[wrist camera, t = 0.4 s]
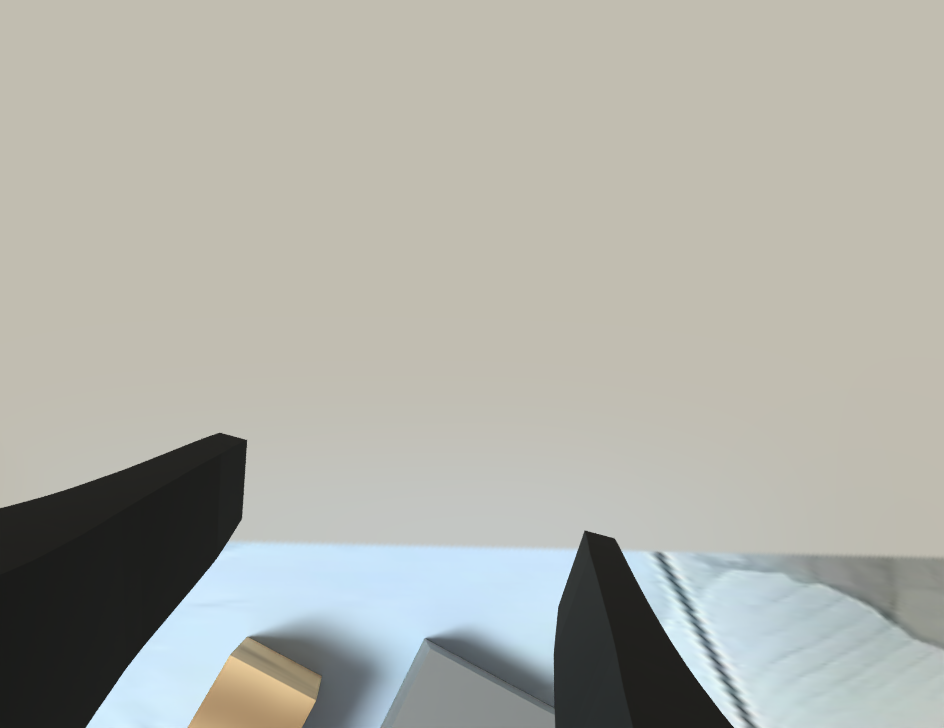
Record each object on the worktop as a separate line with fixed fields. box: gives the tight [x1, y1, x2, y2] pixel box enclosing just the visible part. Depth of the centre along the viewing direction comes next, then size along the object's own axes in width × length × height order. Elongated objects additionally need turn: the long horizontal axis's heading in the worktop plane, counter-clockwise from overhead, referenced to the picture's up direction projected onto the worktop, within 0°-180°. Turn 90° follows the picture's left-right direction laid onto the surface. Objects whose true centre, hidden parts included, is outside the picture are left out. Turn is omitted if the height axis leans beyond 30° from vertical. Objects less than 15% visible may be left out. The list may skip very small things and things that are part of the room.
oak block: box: [188, 637, 322, 728], centre depth 33 cm, size 5×5×5 cm
